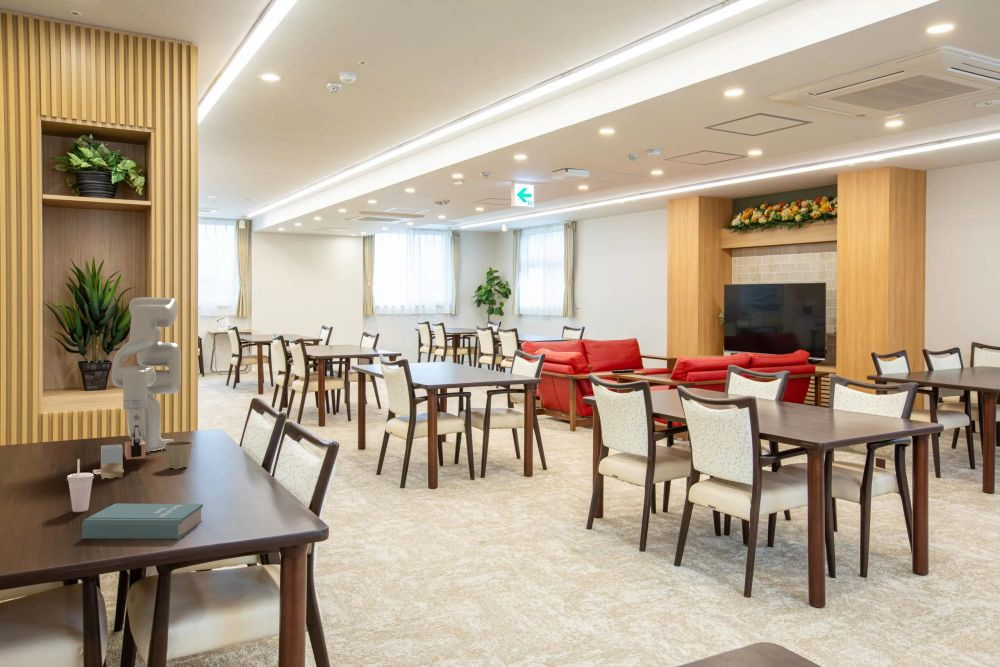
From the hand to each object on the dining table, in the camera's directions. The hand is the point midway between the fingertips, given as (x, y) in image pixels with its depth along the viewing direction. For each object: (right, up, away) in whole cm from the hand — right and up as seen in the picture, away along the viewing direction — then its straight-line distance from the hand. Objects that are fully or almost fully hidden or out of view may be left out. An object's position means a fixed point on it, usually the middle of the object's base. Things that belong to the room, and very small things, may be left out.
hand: (135, 454), depth 259 cm
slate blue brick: (+1, 0, -17) cm, 17 cm away
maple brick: (0, -5, -17) cm, 17 cm away
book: (+40, -7, -75) cm, 86 cm away
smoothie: (+14, -6, -58) cm, 60 cm away
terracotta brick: (0, -1, 0) cm, 1 cm away
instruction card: (-4, -4, -10) cm, 11 cm away
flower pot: (+16, -5, -2) cm, 17 cm away
